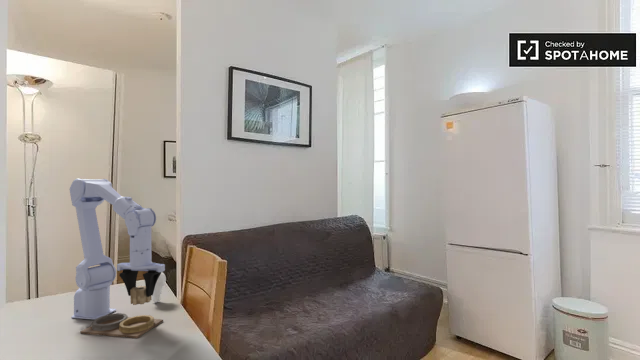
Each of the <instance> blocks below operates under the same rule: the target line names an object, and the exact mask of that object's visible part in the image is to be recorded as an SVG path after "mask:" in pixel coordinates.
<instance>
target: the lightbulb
mask: <svg viewBox="0 0 640 360" xmlns="http://www.w3.org/2000/svg"><path fill="white" fill-rule="evenodd" d="M166 281H167V277H166V275H165V273H164V271H163V272H161V274H160V276H159V278H158V280H157V282H156V285H155V288H154V292H153V295H151V299H152V302H154V303H158V302H159V301H160V300H161V299H162V298H161V295H162V293H163V287H164V286H165V283H166Z"/></svg>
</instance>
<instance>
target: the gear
mask: <svg viewBox="0 0 640 360" xmlns="http://www.w3.org/2000/svg"><path fill="white" fill-rule="evenodd" d="M130 294H131V296H130V305H133V306H137V305H144V304H146V303H150V302H151V301H152V295H151V296H149V297H147V296H146V285H138V286H136V287H134V288H132V289H130Z"/></svg>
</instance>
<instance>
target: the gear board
mask: <svg viewBox="0 0 640 360" xmlns="http://www.w3.org/2000/svg"><path fill="white" fill-rule="evenodd" d="M162 323H164V319H160V318H155V317H154V316H153V315H150V314H149V315H148V314H142V315H135V316H128V315H127V314H126V313H121V312H120V313H119V312H117V313H110V314H108V315H105V316H101V317H99V318H97V319H95V320H94V319H93V321H92V322H91V325H90V326H89V327H86V328H85V329H82V330H81V331H80V334H81V335H93V336H105V337H116V338H117V337H118V338H129V339H131V338H132V339H139V338H140V337H141V336H143V335H144V334H146V333H147V332H150V331H151V330H153V329H154V328H155V327H157V326H159V325H160V324H162Z"/></svg>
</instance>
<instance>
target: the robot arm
mask: <svg viewBox="0 0 640 360" xmlns="http://www.w3.org/2000/svg"><path fill="white" fill-rule="evenodd" d="M69 194H70V195H69V196H70V201H71V205H72V206H73V207H74V208H75V212H76V218H77V223H78V230H79V234H80V241H81V242H80V243H81V247H82V252H83V253H82V254H83V257H84V259H83V260H81V262H79V264H77V266H76V267H75V283H76V286H77V287H78V289H77V290H76V291H75V292H74V296H73V315H71V317H70V318H71V319H84V320H93V321H94V320H95V319H97V318H99V317H101V316H105V315H109V314H113V313H114V312H116V311H117V308H111V307H110V304H111V303H110V302H111V301H110V300H111V296H110V295H111V290H110V289H111V288H110V287H111V285H113V282H114V281H115V279H116V277H117V271H118V272H120V273H119V274H118V275H119V277H120V279H121V280H122V281H123V283H124V286H125V288H126V291H127V295H128V296H129V297H131V294H130V289H132V288H134V287H137V279H138V275H139V272H145V273H142V278H143V279H144V284H145V285H146V296H147V297H149V296H151V297H152V295H153V292H154V288H155V285H156V282H157V280H158V278H159V276H160V274H161V272H163V273H164V272H165V270H166V264H164V263H159V262H158V263H156V262H153V261H152V258H153V257H152V250H153V249H152V235H153V234H152V230H153V229H152V227H154V226H155V224H156V222H157V221H156V220H157V215H156V213H155V211H154V209H152V208H149V207H146V208H145V207H142V205H140V204H138V203H137V202H136V201H134V200H133V197H131V196H122V195H121V194H120V193H119V192H118V191H117V190H116V189H115V188H113V184H112V182H111V181H110V180H109V179H107V178H101V179H98V178H95V179H94V178H93V179H92V178H89V179H88V178H82V179H81V178H75V179H74V180H73V181H72V183H71V184H70V187H69ZM104 201H105V202H107V203H109V204H110V205H112V210H113V211H114V212H115V213H116V214H117V215H119V216H120V217H121V218H122V219H123V220H124V224H125V226H126V228H127V235H129V262H120V263H117V264H116V266H115V265H114V263H113V259H112V258H111V257H109V256H107V255H105V254H104V250H103V244H102V240H101V235H100V234H101V233H100V228H99V222H98V217H97V212H96V209H97V207H98V206H101V204H103V203H104ZM121 271H122V272H121ZM145 285H144V286H145Z"/></svg>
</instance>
